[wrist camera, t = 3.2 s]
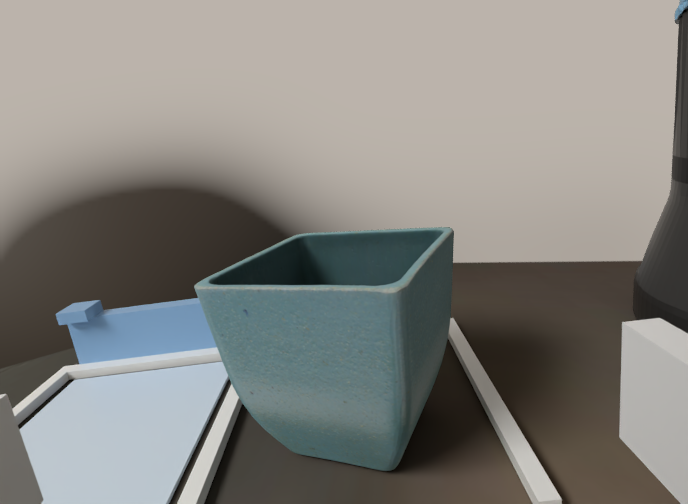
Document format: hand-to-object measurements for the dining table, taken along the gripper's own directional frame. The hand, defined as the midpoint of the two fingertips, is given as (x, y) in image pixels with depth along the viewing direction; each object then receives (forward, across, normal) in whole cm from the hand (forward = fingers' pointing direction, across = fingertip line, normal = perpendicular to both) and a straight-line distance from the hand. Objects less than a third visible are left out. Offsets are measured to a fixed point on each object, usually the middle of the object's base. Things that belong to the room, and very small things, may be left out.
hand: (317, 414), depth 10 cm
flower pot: (+10, 0, -8) cm, 13 cm away
